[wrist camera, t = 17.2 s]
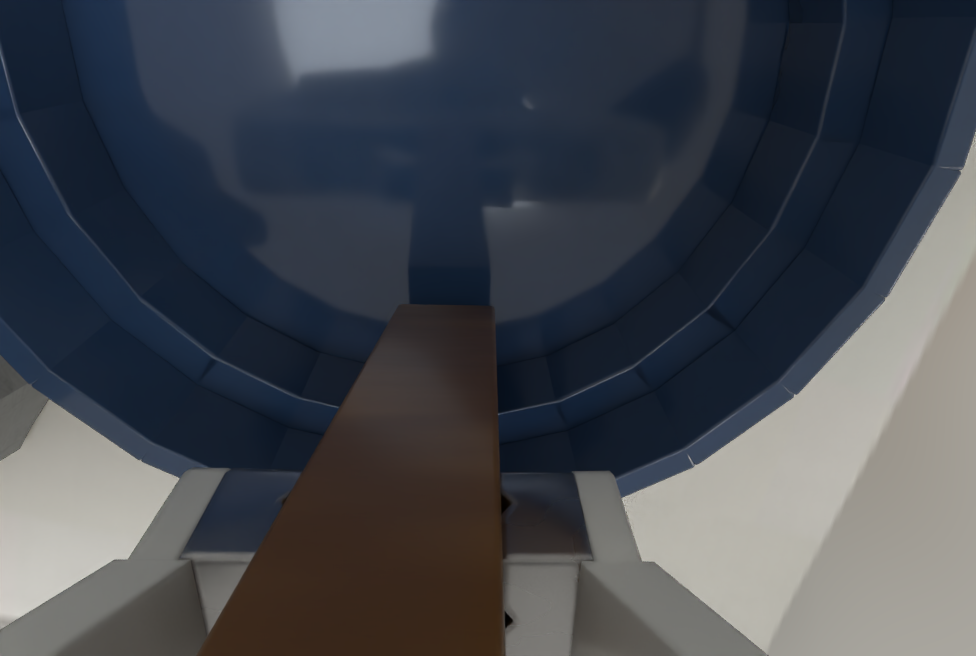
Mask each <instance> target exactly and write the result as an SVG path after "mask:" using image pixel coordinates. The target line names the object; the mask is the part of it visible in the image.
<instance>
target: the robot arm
mask: <svg viewBox="0 0 976 656" xmlns="http://www.w3.org/2000/svg"><path fill="white" fill-rule="evenodd" d="M302 472H303V470H283V469H250V468H232V469H229V468H191V469H189V470H187V471H186V472H184V473H183V474H182V476H181V478H180V479H179V481H178V482H177V484H176V485H175V487H174V488H173V490H172V492H171V493H170V495H169V496H168V498H167V499H166V501H165V502H164V504H163V506H162V507H161V509H160V510H159V512H158V513H157V515H156V516H155V518H154V519H153V521H152V523H151V524H150V526H149V527H148V529H147V530H146V532H145V533H144V535H143V537H142V538H141V540H140V541H139V543H138V544H137V546H136V547H135V549H134V551H133V552H132V554H131V555H130V557H129V558H128V560H113V561H112V562H110V563H108V564H107V565H105V566H104V567H102V568H100V569H99V570H97V571H95V572H94V573H92V574H91V575H89V576H87V577H86V578H84V579H82V580H81V581H79V582H77V583H76V584H74V585H73V586H71V587H69V588H68V589H66V590H64V591H63V592H61V593H60V594H58V595H56V596H55V597H53V598H51V599H50V600H48V601H46V602H45V603H43V604H42V605H40V606H38V607H37V608H35V609H33V610H32V611H30V612H29V613H27V614H25V615H24V616H22V617H20V618H19V619H17V620H15V621H14V622H12V623H11V624H9V625H7V626H6V627H4V628H2V629H1V630H0V656H196V655H197V653H198V652H199V650H200V648H201V646H202V645H203V643H204V641H205V639H206V638H207V636H208V634H209V633H210V631H211V629H212V627H213V626H214V624H215V622H216V620H217V619H218V617H219V615H220V614H221V612H222V610H223V608H224V607H225V605H226V603H227V601H228V600H229V598H230V596H231V594H232V593H233V591H234V589H235V588H236V586H237V584H238V582H239V581H240V579H241V577H242V575H243V574H244V572H245V570H246V569H247V567H248V565H249V563H250V562H251V560H252V558H253V556H254V555H255V553H256V551H257V549H258V548H259V546H260V544H261V543H262V541H263V539H264V537H265V536H266V534H267V532H268V530H269V529H270V527H271V525H272V524H273V522H274V520H275V518H276V517H277V515H278V513H279V511H280V510H281V508H282V506H283V504H284V503H285V501H286V499H287V498H288V496H289V494H290V492H291V491H292V489H293V487H294V485H295V484H296V482H297V480H298V479H299V477H300V475H301V473H302ZM500 486H501V517H502V548H503V579H504V610H505V640H506V656H768V655H767V654H766V653H765V652H764V651H762V650H761V649H760V648H759V647H757V646H756V645H755V644H754V643H753V642H751V641H750V640H749V639H748V638H746V637H745V636H744V635H743V634H742V633H740V632H739V631H738V630H737V629H735V628H734V627H733V626H732V625H731V624H729V623H728V622H727V621H726V620H724V619H723V618H722V617H721V616H720V615H718V614H717V613H716V612H715V611H713V610H712V609H711V608H710V607H709V606H707V605H706V604H705V603H704V602H702V601H701V600H700V599H699V598H698V597H696V596H695V595H694V594H693V593H691V592H690V591H689V590H688V589H687V588H685V587H684V586H683V585H682V584H680V583H679V582H678V581H677V580H676V579H674V578H673V577H672V576H671V575H669V574H668V573H667V572H666V571H665V570H663V569H662V568H661V567H660V566H658V565H657V564H656V563H655V562H642V560H641V557H640V554H639V551H638V548H637V545H636V542H635V539H634V535H633V532H632V529H631V526H630V523H629V520H628V517H627V514H626V511H625V508H624V505H623V502H622V498H621V495H620V492H619V489H618V486H617V483H616V480H615V477H614V475H613V474H612V473H611V472H610V471H572V473H500Z"/></svg>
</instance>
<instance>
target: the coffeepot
mask: <svg viewBox="0 0 976 656" xmlns="http://www.w3.org/2000/svg"><path fill="white" fill-rule="evenodd" d="M47 400H48V398H47V397H46V396H44V395H43V394H41V393H40V392H38V391H37V390H36V389H34V388H33V387H32V384H31V385H29V384H28V383H27V382H26V381H25V380H24V379H23V378H22V377H21V376H20V375H19V374H18V373H17V372H16V371H15V370H14V369H13V368H12V367H11V366H10V365H9V364H8V363H7V362H6V361H5V360H4V358H3V357H2V356H1V355H0V461H1V460H2V459H4V458H6V457H7V456H9V455H10V454H12V453H14V452H15V451H17V450H18V449H20V447H21V445H22V443H23V442H24V440H25V438H26V436H27V434H28V432H29V430H30V428H31V426H32V425H33V423H34V421H35V420H36V418H37V417H38V415H39V413H40V412H41V410H42V409H43V407H44V405H45V404H46V402H47Z"/></svg>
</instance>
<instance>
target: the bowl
mask: <svg viewBox="0 0 976 656" xmlns="http://www.w3.org/2000/svg"><path fill="white" fill-rule="evenodd" d="M975 132H976V0H0V355H1V356H2V357H3V358H4V360H5V361H6V362H7V363H8V364H9V365H10V366H11V367H12V368H13V369H14V370H15V371H16V372H17V373H18V374H19V375H20V376H21V377H22V378H23V379H24V380H25V381H26V382H27V383H28V384H29V385H31V384H32V387H33V388H34V389H36V390H37V391H38V392H40V393H41V394H43V395H44V396H46V397H47V398H49V399H50V400H52V401H53V402H54V403H56V404H57V405H59V406H60V407H62V408H63V409H65V410H66V411H68V412H69V413H71V414H72V415H73V416H75V417H76V418H78V419H79V420H81V421H82V422H84V423H85V424H87V425H88V426H90V427H91V428H92V429H94V430H95V431H97V432H98V433H100V434H101V435H103V436H104V437H106V438H107V439H108V440H110V441H111V442H113V443H114V444H116V445H117V446H119V447H120V448H122V449H123V450H125V451H126V452H127V453H129V454H130V455H132V456H133V457H135V458H136V459H138V460H141V461H142V462H143V463H146V464H148V465H151V466H153V467H155V468H158V469H160V470H162V471H165V472H167V473H169V474H172V475H174V476H176V477H179V478H181V476H182V474H183V473H184V472H186V471H187V470H189V469H191V468H229V469H232V468H250V469H283V470H304V468H305V466H306V465H307V463H308V461H309V459H310V458H311V456H312V454H313V453H314V451H315V449H316V447H317V446H318V444H319V442H320V440H321V439H322V437H323V435H324V434H325V432H326V430H327V428H328V427H329V425H330V423H331V421H332V420H333V418H334V416H335V414H336V413H337V411H338V409H339V408H340V406H341V404H342V402H343V401H344V399H345V397H346V395H347V394H348V392H349V390H350V388H351V387H352V385H353V383H354V382H355V380H356V378H357V376H358V375H359V373H360V371H361V369H362V368H363V366H364V364H365V363H366V361H367V359H368V357H369V356H370V354H371V352H372V350H373V349H374V347H375V345H376V343H377V342H378V340H379V338H380V337H381V335H382V333H383V331H384V330H385V328H386V326H387V324H388V323H389V321H390V319H391V318H392V316H393V314H394V312H395V311H396V309H397V307H398V305H401V304H419V305H479V306H493V307H494V309H495V332H496V363H497V394H498V424H499V455H500V473H572V471H610V472H611V473H612V474H613V475H614V477H615V480H616V483H617V486H618V489H619V492H620V495H621V498H623V497H625V496H627V495H630V494H632V493H634V492H637V491H639V490H641V489H644V488H646V487H648V486H651V485H653V484H655V483H658V482H660V481H662V480H665V479H667V478H669V477H672V476H674V475H676V474H679V473H681V472H683V471H686V470H688V469H690V468H693V467H694V466H695V464H696V465H697V464H699V463H701V462H702V461H704V460H705V459H706V458H708V457H709V456H711V455H712V454H714V453H715V452H716V451H718V450H719V449H721V448H722V447H724V446H725V445H726V444H728V443H729V442H731V441H732V440H734V439H735V438H736V437H738V436H739V435H741V434H742V433H744V432H745V431H746V430H748V429H749V428H751V427H752V426H754V425H755V424H756V423H758V422H759V421H761V420H762V419H763V418H765V417H766V416H768V415H769V414H771V413H772V412H773V411H775V410H776V409H778V408H779V407H781V406H782V405H783V404H785V403H786V402H788V401H789V400H791V399H792V398H793V397H794V394H796V395H797V394H798V393H799V392H800V391H801V390H802V389H803V388H804V387H805V386H806V385H807V384H808V383H809V382H810V380H811V379H812V378H813V377H814V376H815V375H816V374H817V373H818V372H819V371H820V370H821V369H822V368H823V366H824V365H825V364H826V363H827V362H828V361H829V360H830V359H831V358H832V357H833V356H834V355H835V354H836V353H837V351H838V350H839V349H840V348H841V347H842V346H843V345H844V344H845V343H846V342H847V341H848V340H849V339H850V337H851V336H852V335H853V334H854V333H855V332H856V331H857V330H858V329H859V328H860V327H861V326H862V325H863V324H864V322H865V321H866V320H867V319H868V318H869V317H870V316H871V315H872V314H873V313H874V312H875V311H876V310H877V308H878V307H879V306H880V305H881V304H882V303H883V302H884V301H885V298H884V297H887V296H888V295H889V294H890V292H891V290H892V289H893V287H894V285H895V284H896V282H897V280H898V279H899V277H900V275H901V274H902V272H903V270H904V269H905V267H906V265H907V264H908V262H909V260H910V259H911V257H912V255H913V254H914V252H915V250H916V249H917V247H918V245H919V243H920V242H921V240H922V238H923V237H924V235H925V233H926V232H927V230H928V228H929V227H930V225H931V223H932V222H933V220H934V218H935V217H936V215H937V213H938V212H939V210H940V208H941V207H942V205H943V203H944V202H945V200H946V198H947V197H948V195H949V193H950V192H951V190H952V188H953V187H954V185H955V183H956V181H957V180H958V178H959V176H960V175H961V172H960V171H959V170H962V169H963V167H964V165H965V162H966V159H967V156H968V153H969V150H970V147H971V144H972V141H973V138H974V135H975Z"/></svg>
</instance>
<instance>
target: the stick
mask: <svg viewBox="0 0 976 656" xmlns="http://www.w3.org/2000/svg"><path fill="white" fill-rule="evenodd" d="M196 656H506V640H505V610H504V579H503V548H502V517H501V486H500V455H499V424H498V394H497V363H496V332H495V309H494V307H493V306H479V305H419V304H401V305H398V307H397V309H396V311H395V312H394V314H393V316H392V318H391V319H390V321H389V323H388V324H387V326H386V328H385V330H384V331H383V333H382V335H381V337H380V338H379V340H378V342H377V343H376V345H375V347H374V349H373V350H372V352H371V354H370V356H369V357H368V359H367V361H366V363H365V364H364V366H363V368H362V369H361V371H360V373H359V375H358V376H357V378H356V380H355V382H354V383H353V385H352V387H351V388H350V390H349V392H348V394H347V395H346V397H345V399H344V401H343V402H342V404H341V406H340V408H339V409H338V411H337V413H336V414H335V416H334V418H333V420H332V421H331V423H330V425H329V427H328V428H327V430H326V432H325V434H324V435H323V437H322V439H321V440H320V442H319V444H318V446H317V447H316V449H315V451H314V453H313V454H312V456H311V458H310V459H309V461H308V463H307V465H306V466H305V468H304V470H303V472H302V473H301V475H300V477H299V479H298V480H297V482H296V484H295V485H294V487H293V489H292V491H291V492H290V494H289V496H288V498H287V499H286V501H285V503H284V504H283V506H282V508H281V510H280V511H279V513H278V515H277V517H276V518H275V520H274V522H273V524H272V525H271V527H270V529H269V530H268V532H267V534H266V536H265V537H264V539H263V541H262V543H261V544H260V546H259V548H258V549H257V551H256V553H255V555H254V556H253V558H252V560H251V562H250V563H249V565H248V567H247V569H246V570H245V572H244V574H243V575H242V577H241V579H240V581H239V582H238V584H237V586H236V588H235V589H234V591H233V593H232V594H231V596H230V598H229V600H228V601H227V603H226V605H225V607H224V608H223V610H222V612H221V614H220V615H219V617H218V619H217V620H216V622H215V624H214V626H213V627H212V629H211V631H210V633H209V634H208V636H207V638H206V639H205V641H204V643H203V645H202V646H201V648H200V650H199V652H198V653H197V655H196Z"/></svg>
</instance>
